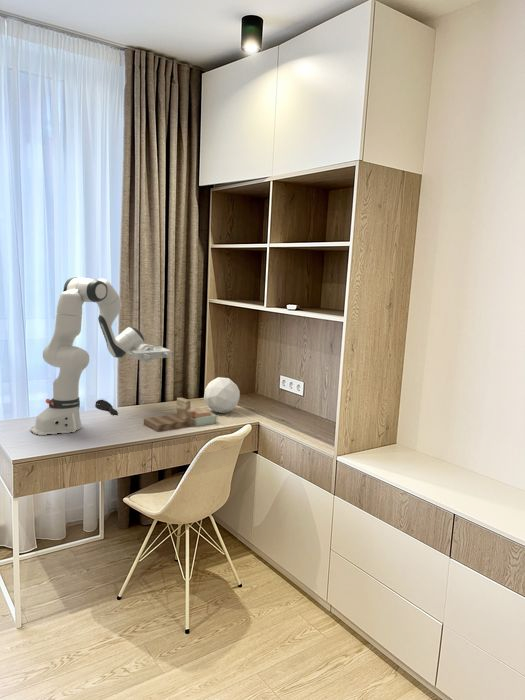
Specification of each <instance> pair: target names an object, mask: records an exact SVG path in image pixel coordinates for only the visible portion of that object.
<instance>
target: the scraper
mask: <svg viewBox="0 0 525 700" xmlns="http://www.w3.org/2000/svg"><path fill="white" fill-rule="evenodd" d="M191 402H192V401H191V400H189V399H187V398H184V397H177V398H176V414H177V416H178V417H181V418H183V419H190V409H191Z"/></svg>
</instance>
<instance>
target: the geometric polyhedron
mask: <svg viewBox="0 0 525 700" xmlns="http://www.w3.org/2000/svg"><path fill="white" fill-rule="evenodd" d="M240 393H241V392H240V389H239V387H238V385H237V384H236V383H235V382H234V381H233V380H232V379H230V378H228V377H221V376H219V377H216V378H214V379H212V380H211V381H210V382H208V383H207V385H206V387H205V389H204V396H203V400H204V402H205V403H206V405H207V407H208V408H209V409H210V410H212V411H213V412H214V413H218V412H219V414H228V413H229V412H230V411H232V410H234V409H235V408H236V407H237V404H238V403H239V400H240V396H241V394H240Z"/></svg>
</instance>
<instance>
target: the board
mask: <svg viewBox="0 0 525 700" xmlns="http://www.w3.org/2000/svg"><path fill="white" fill-rule="evenodd" d="M142 422H143V423H142V424H143V425H144V426H146V427H147V428H150V429H151V430H153V431H155V432H165V431H168V430H169V431H170V430H176V429H182V428H187V427H195V426H194V420H193V419H191V418H190V419H183V418H181V417H178V416H177V413H173V414H167V415H166V414H165V415H158V416H152V417H145V418H144V417H143V421H142Z"/></svg>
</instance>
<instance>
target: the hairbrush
mask: <svg viewBox="0 0 525 700" xmlns="http://www.w3.org/2000/svg"><path fill="white" fill-rule="evenodd" d="M94 404H95V405H94V406H95V408H96V409H97V410H101V411H109V413H110V414H111V415H112V414H113V415H112V416H114V415H117V416H118V415H119V413H118V410H117V409H115V408H113V405H112V403H110V402H108V401H107V400H106V399H103V398H100V399H97V400H96V401H95V403H94Z"/></svg>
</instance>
